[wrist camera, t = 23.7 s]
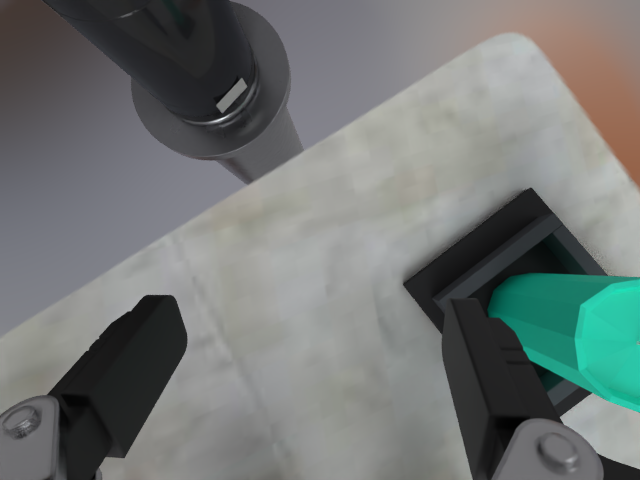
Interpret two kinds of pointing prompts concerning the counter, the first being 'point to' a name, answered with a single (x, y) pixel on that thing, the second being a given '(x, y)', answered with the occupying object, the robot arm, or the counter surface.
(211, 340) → the counter surface
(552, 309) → the candle
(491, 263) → the dark grey square holder
